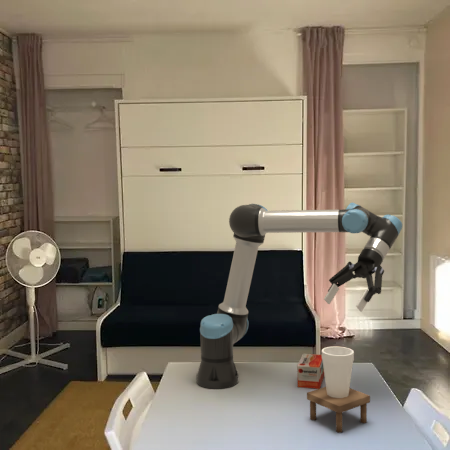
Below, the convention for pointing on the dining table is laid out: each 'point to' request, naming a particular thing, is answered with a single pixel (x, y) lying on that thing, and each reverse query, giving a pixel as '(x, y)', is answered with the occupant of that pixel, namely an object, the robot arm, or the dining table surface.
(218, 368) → the robot arm
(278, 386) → the dining table surface
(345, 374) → the foam cup
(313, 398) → the stool
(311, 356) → the medicine box
